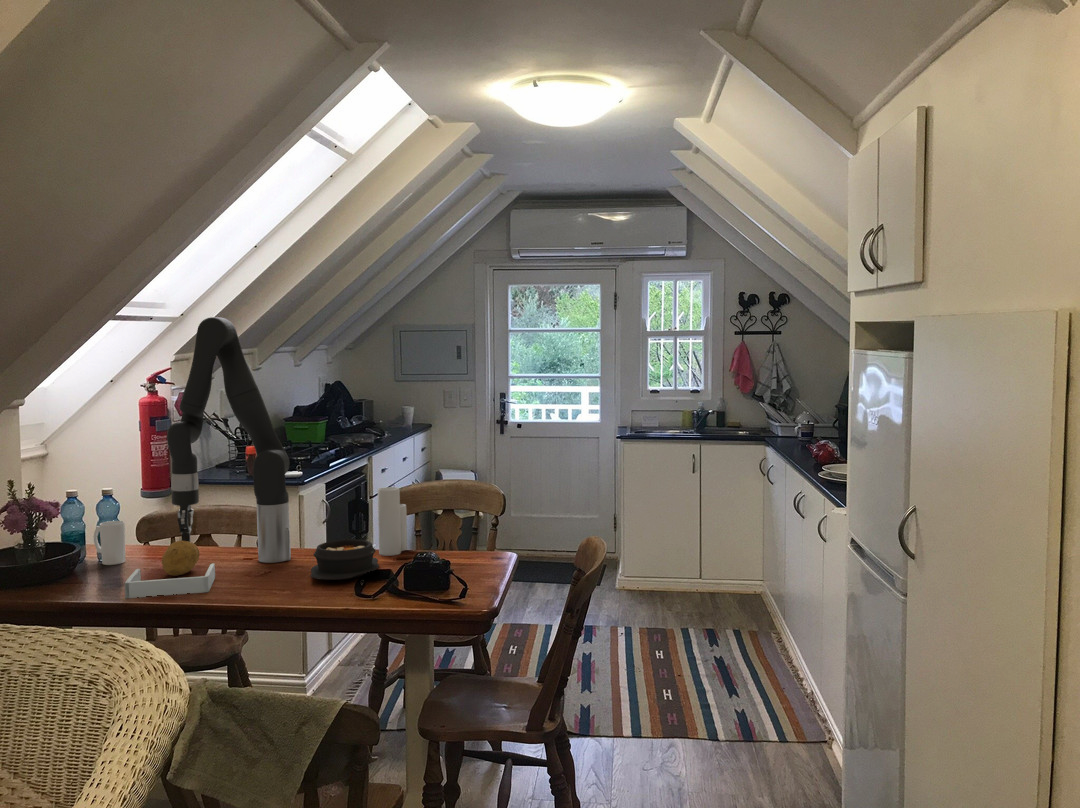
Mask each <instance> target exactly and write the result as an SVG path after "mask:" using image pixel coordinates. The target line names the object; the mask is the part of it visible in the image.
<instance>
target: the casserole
mask: <svg viewBox="0 0 1080 808" xmlns="http://www.w3.org/2000/svg"><path fill="white" fill-rule="evenodd" d="M376 551H377V550H376V548H374V546H373V543H372V542H371V541H370V540H369V541H368V540H366V539H365V540H364V539H352V538H351V539H350V538H349V539H348V538H347V539H339V540H338V539H337V540H331V541H330V540H329V541H326V542H323V543H320V544H318V545H317V547H316V549H315V551H314V553H313V557H314V558H315V559H316V565H314V566H313V567H312V568H311V569H310V572H311V573H310V576H309V577H310V578H312V579H315V580H324V581H325V580H326V581H339V580H340V581H341V580H348V579H355V578H359V577H361V576H364V575H363V574H365V575H366V573H367V572H369V573H371V572H370V571H372V572H374V571H376V570H377V569H378V568H380V565H379V563H378V562H379V559H378V558H376V557H374V554H375V553H376ZM367 574H368V573H367Z"/></svg>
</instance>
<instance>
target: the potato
mask: <svg viewBox="0 0 1080 808" xmlns="http://www.w3.org/2000/svg"><path fill="white" fill-rule="evenodd" d="M199 559H200V549H199V547H198V546H197V544H195V543H194V542H191V541H190V542H189V541H182V540H176V541H174V542H172V543H171V544H169V545H168V547H167V548H166V550H165V552H164V553H163V555H162V559H161V565H162V568H163V571H164V572H165V573H166V574H167V575H169V576H172V577H173V576H176V577H177V576H178V577H179V576H182V575H185V574H188V573H189V572H190V571H192V569H193V568H194V567H195V566H196V565H197V563H198V561H199Z"/></svg>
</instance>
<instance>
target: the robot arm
mask: <svg viewBox="0 0 1080 808" xmlns="http://www.w3.org/2000/svg"><path fill="white" fill-rule="evenodd" d="M216 358H217V359H218V361H219V363H220V366H221V368H222V369H221V370H222V375H223V384H224V391H225V395H226V398H227V401H228V403H229V406H230V408H231V410H232V412H233V415H234V416H235V418H236V420H237V421H238V422H239V424H240V425H241V427H242V428H243V429H244V431H245V432H246V433H247V434H248V436H249V438H250V439H251V442H252V444H253V447H254V449H255V452H256V457H254V460H253V465H252V477H253V478H252V479H253V491H254V495H255V500H256V525H257V527H256V528H257V529H256V532H257V555H258V562H260V563H265V564H266V563H267V564H268V563H269V564H270V563H271V564H273V563H282V562H286V561H291V557H292V555H291V554H292V553H291V550H292V549H291V525H290V505H289V504H290V503H289V492H288V491H287V486H286V474H287V473H288V471H289V469H290V458H289V456H288V453H287V452H286V450H285V448H284V446H283V445H282V442H281V441H280V439H279V437H278V435H277V433H276V431H275V428H274V427H273V423H272V420H271V417H270V415H269V412H268V410H267V407H266V404H265V402H264V399H263V397H262V394H261V392H260V389H259V387H258V384H257V382H256V381H255V378H254V376H253V374H252V371H251V368H250V367H249V365H248V363H247V360H246V359H245V356H244V353H243V350H242V347H241V342H240V339H239V336H238V332H237V330H236V327H235V325H234V324H233V322H232V321H230V320H229V319H227V318H225V317H219V316H218V317H217V316H211V317H207V318H205V319H203V320H202V321H201V322H200V323H199V324H198V327H197V330H196V336H195V345H194V351H193V357H192V361H191V367H190V371H189V375H188V378H187V382H186V385H185V388H184V391H183V394H182V397H181V401H180V403H179V411H181V413H182V414H181V418H180V421H177V422H174V423H172V424H171V425H170V426H169V428H168V430H167V433H166V440H167V441H166V442H167V447H168V450H169V454H170V457H171V483H170V484H171V485H170V487H171V491H170V492H171V494H170V495H171V504H172V505H173V506H179V509H178V510H177V522H178V529H179V533H180V534H181V541H189V542H191V532H192V528H193V522H194V520H193V515H194V508H192V505H196V504H198V503H199V501H200V496H199V475H198V474H199V473H198V457H197V455H196V454H195V453H193V450H192V444H194V443H195V442H197V441H198V439H199V438H200V436H201V434H202V431H203V425H204V418H205V417H204V413H205V409H206V407H207V404H208V401H209V398H210V394H211V390H212V380H213V371H214V365H215V362H216Z"/></svg>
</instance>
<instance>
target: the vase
mask: <svg viewBox="0 0 1080 808" xmlns="http://www.w3.org/2000/svg"><path fill="white" fill-rule="evenodd" d="M400 492H401V490H400V488H399V487H395V486H386V487H385V486H383V487H379V488H377V515H378V518H377V519H378V520H377V521H378V553H379V555H380V556H384V557H385V556H389V557H391V556H398V555H400V554H401V553H402V552H404V551H407V550H408V528H407V527H408V523H407V522H408V521H407V519H408V518H407V517H408V516H407V504H405V503H401V501H400V500H401V499H400V498H401V497H400V496H401V495H400V494H401V493H400Z"/></svg>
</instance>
